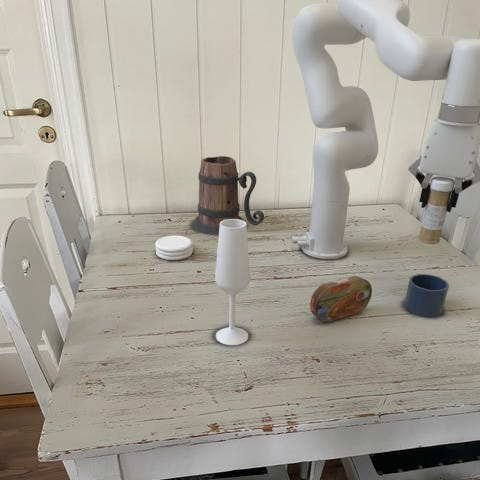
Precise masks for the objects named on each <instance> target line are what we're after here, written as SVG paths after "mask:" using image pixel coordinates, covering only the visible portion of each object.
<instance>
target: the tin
mask: <svg viewBox="0 0 480 480" xmlns="http://www.w3.org/2000/svg"><path fill="white" fill-rule="evenodd" d="M372 287H373V286H372V284H371V282H370V281H369V280H367V279H365V278H362V277H361V276H357V275H352V276H348V277H343V278H341V279H340V278H339V279H337V280H333V281H328V282H325V283H322V284H321V285H319V286H318V287H317V288H316V289H315V290H314V292H313V293H312V295H311V296H310V297H311V298H310V303H309V306H310V307H309V308H310V312H311V314H312V315H313V316H314V317H315V318H317V319H318V320H319V321H321V322H323V323H331V322H335V321H337V320H340V319H344V318H347V317H350V316H354V315H357V314H359V313H361V312H362V311H363V310H364V309H366V307H367V306H368V304H369V302H370V300H371V298H372V294H373V289H372Z"/></svg>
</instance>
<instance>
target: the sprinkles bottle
mask: <svg viewBox="0 0 480 480" xmlns="http://www.w3.org/2000/svg"><path fill="white" fill-rule="evenodd" d="M429 183H430V191H429V196H428V199H427V204H426V206H425V207H424V211H423V216H422V220H421V223H420V224H421V225H420V230H419V235H418V237H417V239H418V241H419V242H421V243H422V244H426V245H437V244H440V241H441V240H440V239H441V235H442V231H443V229H444V226H445V221H446V216H447V213H448V211H447V209H448V205H449V201H450V197H451V193H452V191H453V190H454V187H455V179H453V178H452V177H447V176H432V178H431V180H430V182H429Z"/></svg>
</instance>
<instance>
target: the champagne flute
mask: <svg viewBox="0 0 480 480" xmlns="http://www.w3.org/2000/svg"><path fill="white" fill-rule="evenodd" d="M242 220H243V219H242ZM242 220H239V219H227V220H223V221H221V222H220V228H219V235H218V240H217V252H216V260H215V261H216V262H215V273H214V282H215V283H216V285H217V286H218V288H219V289H220V290H221V291H223V292H224V293H225V294H227V295H228V297H229V298H228V301H229V302H228V303H229V304H228V305H229V306H228V307H229V308H228V310H229V311H228V315H229V316H228V317H229V318H228V320H229V321H228V326H227V327H224V328H221V329H219V330H218V331H216V334H215V338H216V340H217V341H218V343H221V344H223V345H227V346H237V345H241V344H244V343H245V342H246V341H247V340H248V339H249V333H248V332H247V331H246V330H244V329H243V328H240V327H238V326H237V327H236V295H238V294H240V293H241V292H243V291H244V290H245V289H246V288H247V287H248V286H249V284H250V282H251V271H250V270H251V269H250V256H249V241H248V229H247V222H246V221H245V220H243V221H242Z"/></svg>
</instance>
